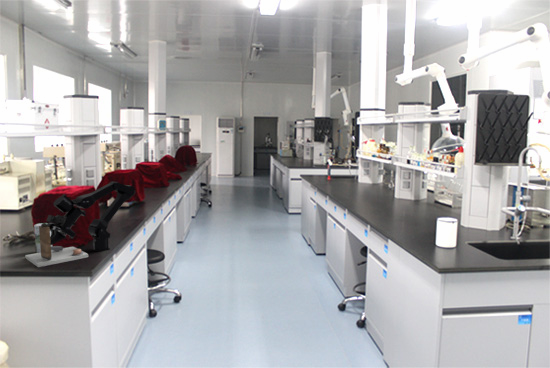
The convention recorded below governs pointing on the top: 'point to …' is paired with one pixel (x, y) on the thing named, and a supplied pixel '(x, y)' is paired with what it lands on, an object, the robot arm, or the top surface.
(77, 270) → the top surface
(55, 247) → the grey rectangular block
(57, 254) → the control panel
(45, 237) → the walnut lever
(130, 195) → the robot arm
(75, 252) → the terracotta button
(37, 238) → the syrup box
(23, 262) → the top surface
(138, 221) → the top surface
